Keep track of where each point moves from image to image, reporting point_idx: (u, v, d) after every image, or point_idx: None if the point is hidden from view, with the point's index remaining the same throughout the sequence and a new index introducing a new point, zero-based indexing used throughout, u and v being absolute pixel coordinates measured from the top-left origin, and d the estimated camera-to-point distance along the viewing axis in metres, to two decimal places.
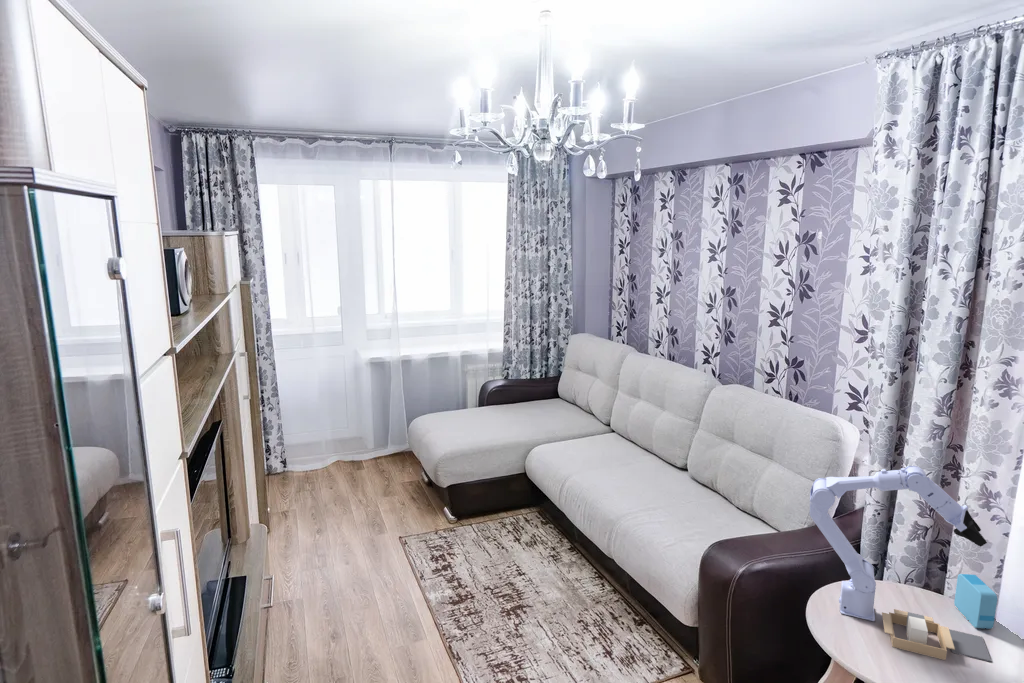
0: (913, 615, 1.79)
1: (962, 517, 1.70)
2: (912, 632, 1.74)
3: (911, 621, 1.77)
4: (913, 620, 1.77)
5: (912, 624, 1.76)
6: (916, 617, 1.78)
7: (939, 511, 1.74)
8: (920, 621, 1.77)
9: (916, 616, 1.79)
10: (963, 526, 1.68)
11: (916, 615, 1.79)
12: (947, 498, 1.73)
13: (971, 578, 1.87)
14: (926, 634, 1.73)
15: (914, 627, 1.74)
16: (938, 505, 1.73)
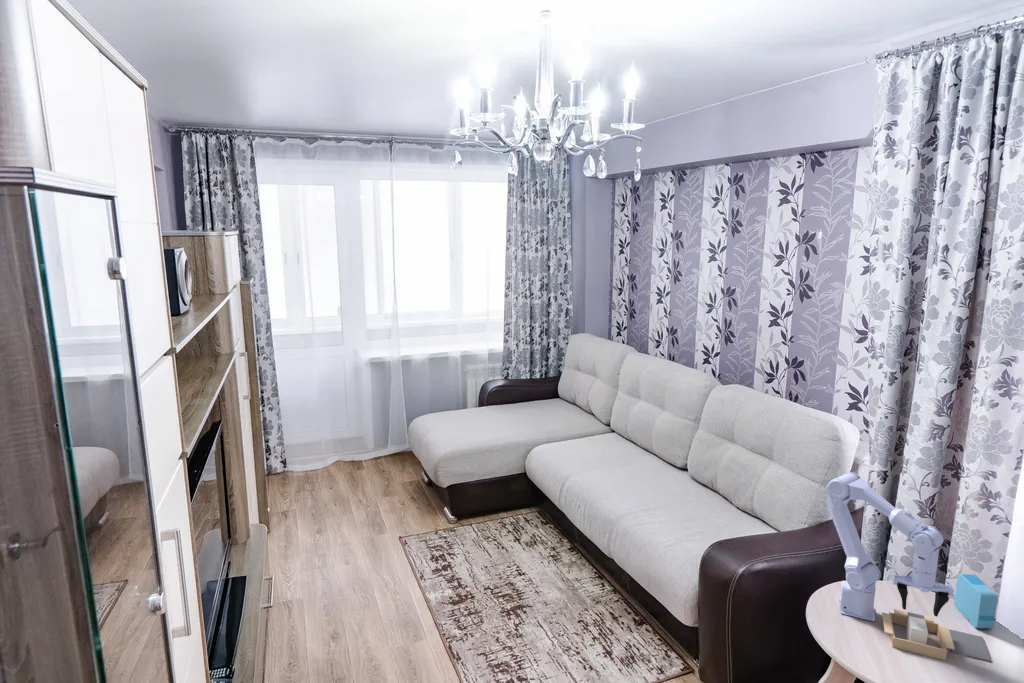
0: (913, 615, 1.79)
1: (906, 582, 1.75)
2: (912, 632, 1.74)
3: (911, 621, 1.77)
4: (913, 620, 1.77)
5: (912, 624, 1.76)
6: (916, 617, 1.78)
7: None
8: (920, 621, 1.77)
9: (916, 616, 1.79)
10: (893, 581, 1.77)
11: (916, 615, 1.79)
12: (930, 572, 1.71)
13: (971, 578, 1.87)
14: (926, 634, 1.73)
15: (914, 627, 1.74)
16: (917, 568, 1.72)
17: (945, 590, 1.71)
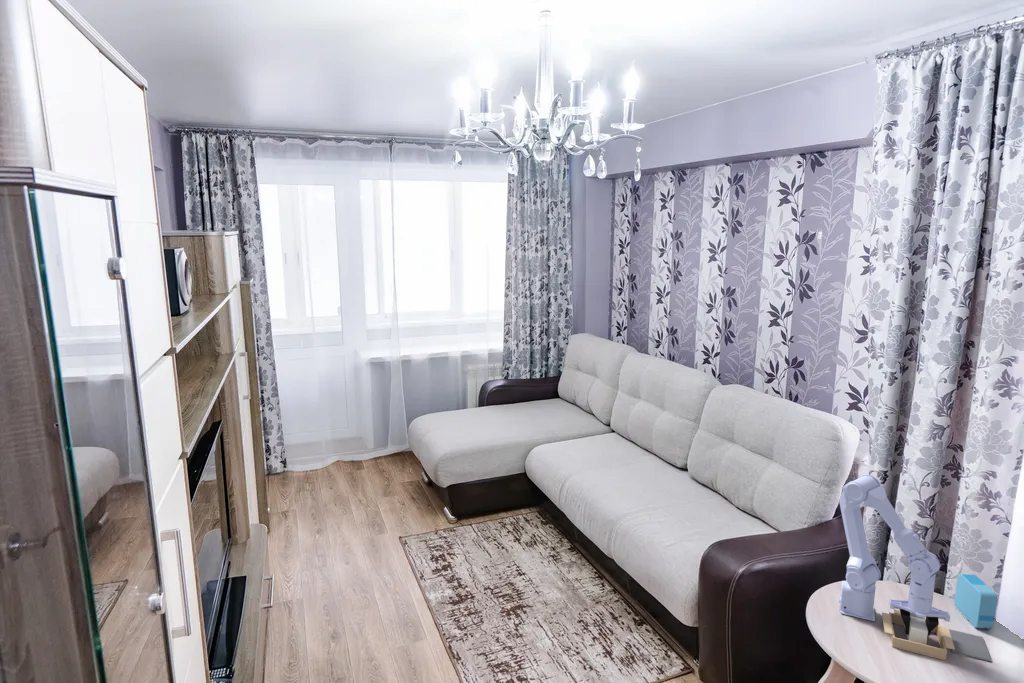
0: (913, 615, 1.79)
1: (902, 607, 1.76)
2: (912, 632, 1.74)
3: (911, 621, 1.77)
4: (913, 620, 1.77)
5: (912, 624, 1.76)
6: (916, 617, 1.78)
7: None
8: (920, 621, 1.77)
9: (916, 616, 1.79)
10: (890, 605, 1.79)
11: (916, 615, 1.79)
12: (927, 598, 1.72)
13: (971, 578, 1.87)
14: (926, 634, 1.73)
15: (914, 627, 1.74)
16: (914, 593, 1.74)
17: (941, 616, 1.72)
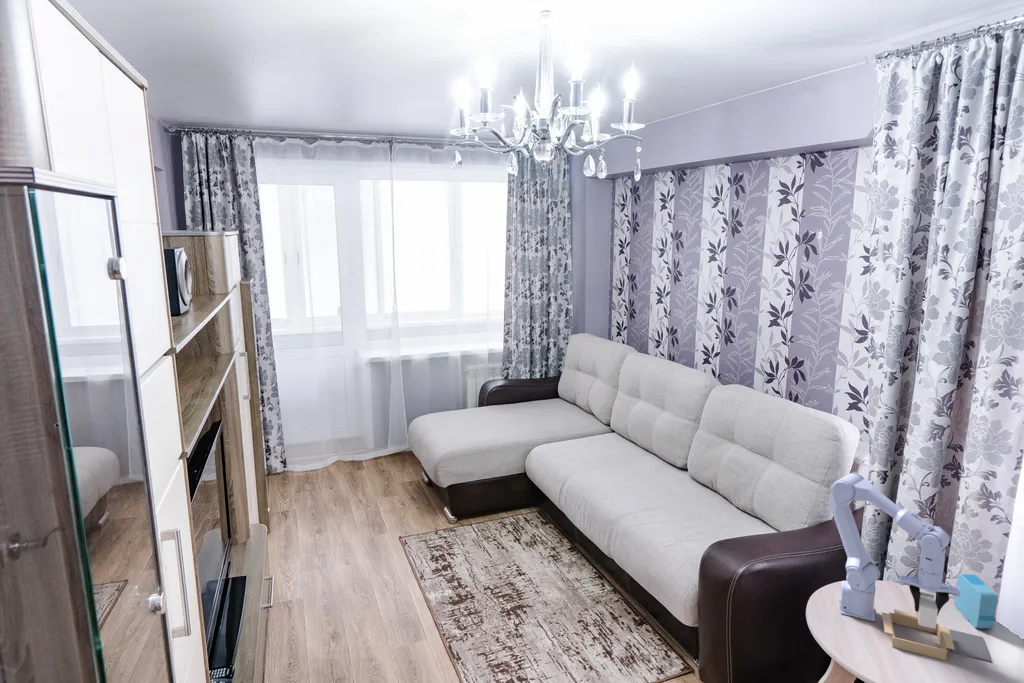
0: (923, 594, 1.78)
1: (912, 583, 1.74)
2: (922, 611, 1.72)
3: (921, 600, 1.75)
4: (922, 599, 1.76)
5: (922, 603, 1.74)
6: (925, 596, 1.77)
7: None
8: (930, 600, 1.75)
9: (926, 595, 1.77)
10: (899, 581, 1.77)
11: (926, 594, 1.78)
12: (938, 573, 1.70)
13: (971, 578, 1.87)
14: (936, 612, 1.71)
15: (924, 606, 1.72)
16: (924, 569, 1.72)
17: (952, 591, 1.70)
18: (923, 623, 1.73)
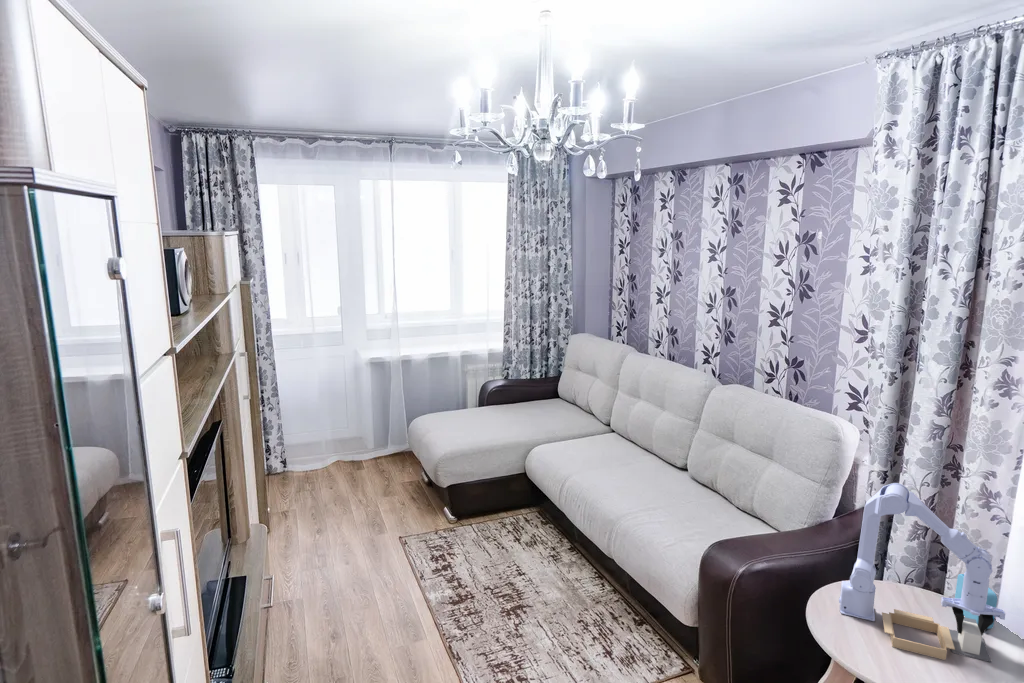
0: (965, 619, 1.76)
1: (955, 605, 1.73)
2: (965, 637, 1.71)
3: (963, 625, 1.74)
4: (965, 624, 1.74)
5: (965, 628, 1.73)
6: (968, 622, 1.75)
7: None
8: (972, 625, 1.74)
9: (968, 620, 1.76)
10: (942, 603, 1.75)
11: (968, 619, 1.76)
12: (985, 595, 1.69)
13: None
14: (980, 639, 1.70)
15: (967, 631, 1.71)
16: (971, 593, 1.70)
17: (996, 613, 1.69)
18: (966, 649, 1.72)
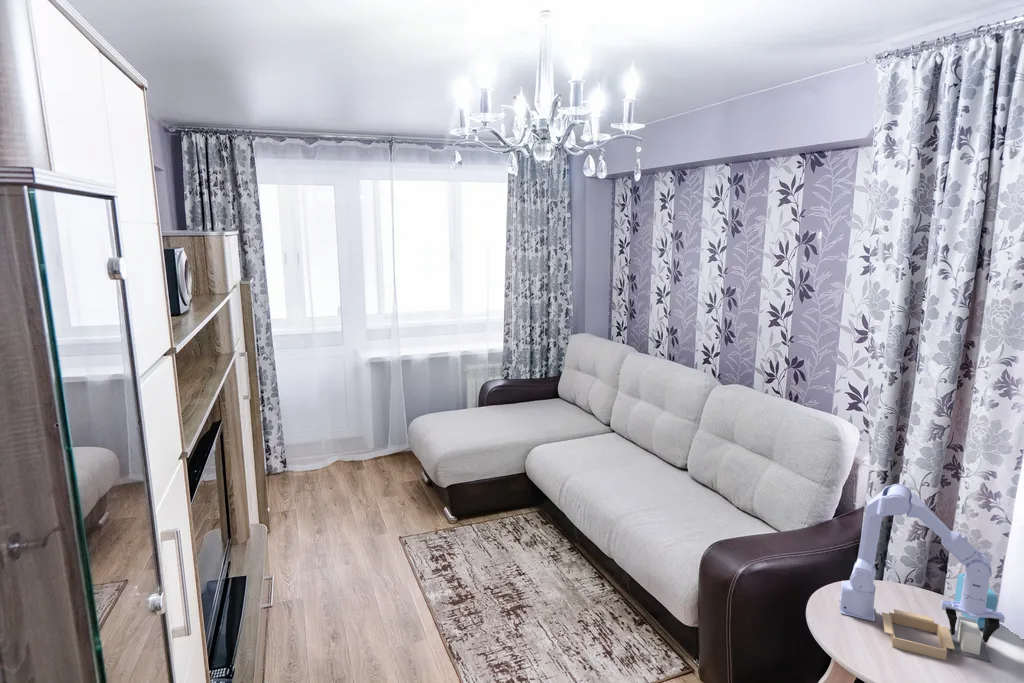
0: (965, 619, 1.76)
1: (955, 608, 1.73)
2: (965, 637, 1.71)
3: (963, 625, 1.74)
4: (965, 624, 1.74)
5: (965, 628, 1.73)
6: (968, 622, 1.75)
7: None
8: (972, 625, 1.74)
9: (968, 620, 1.76)
10: (941, 606, 1.76)
11: (968, 619, 1.76)
12: (984, 598, 1.69)
13: None
14: (980, 639, 1.70)
15: (967, 631, 1.71)
16: (971, 596, 1.70)
17: (996, 616, 1.69)
18: (966, 649, 1.72)
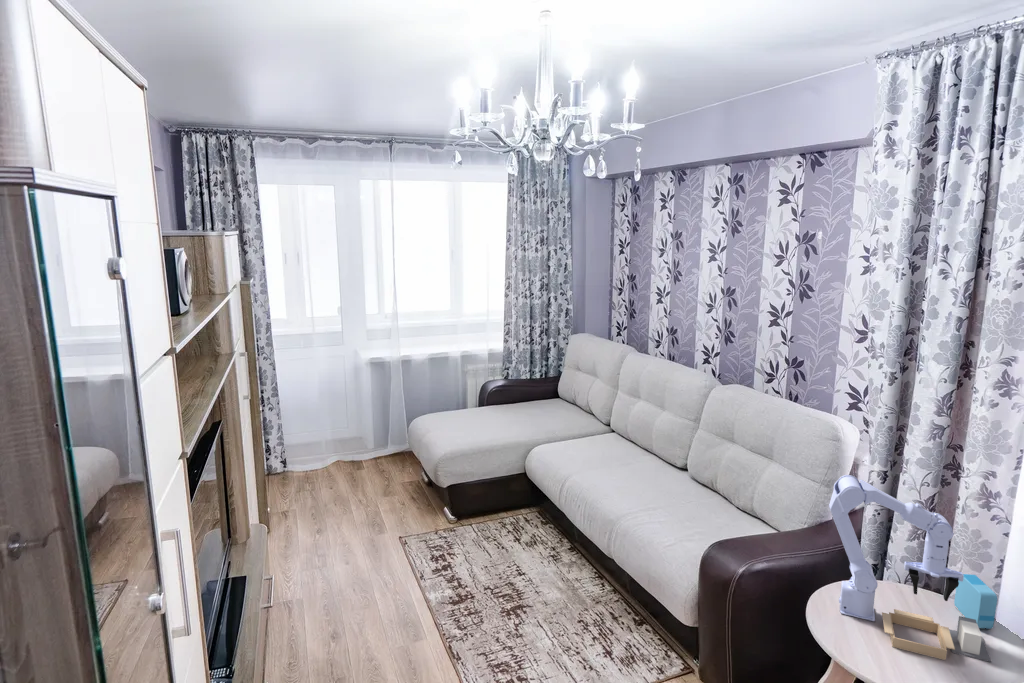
0: (965, 619, 1.76)
1: (917, 568, 1.82)
2: (965, 637, 1.71)
3: (963, 625, 1.74)
4: (965, 624, 1.74)
5: (965, 628, 1.73)
6: (968, 622, 1.75)
7: None
8: (972, 625, 1.74)
9: (968, 620, 1.76)
10: (905, 567, 1.84)
11: (968, 619, 1.76)
12: (946, 557, 1.78)
13: (971, 578, 1.87)
14: (980, 639, 1.70)
15: (967, 631, 1.71)
16: (935, 557, 1.78)
17: (955, 575, 1.78)
18: (966, 649, 1.72)
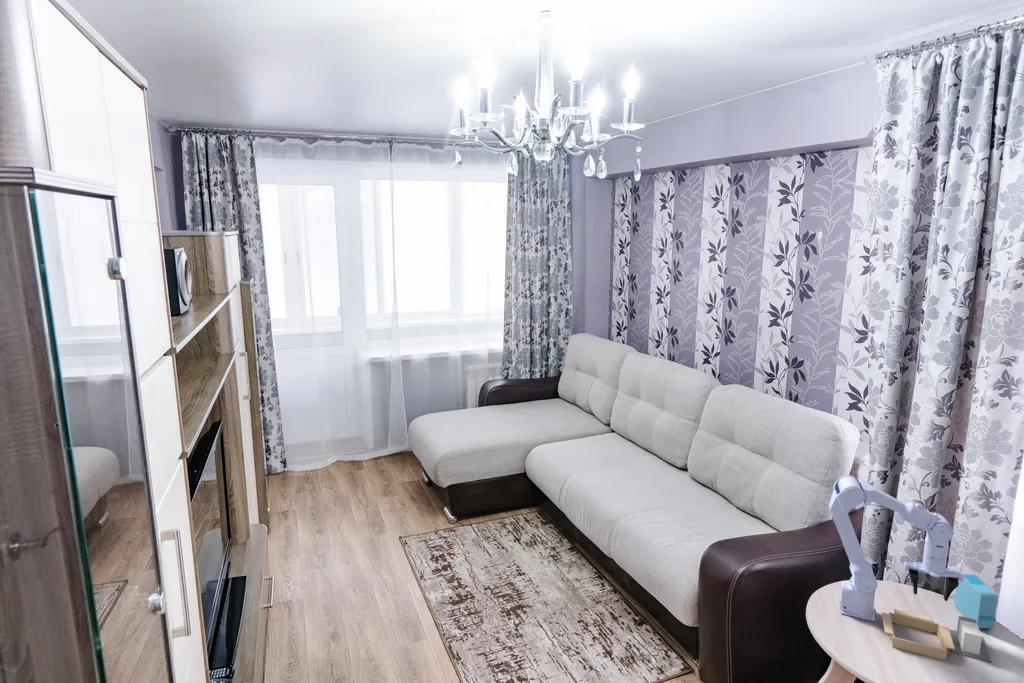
0: (965, 619, 1.76)
1: (917, 568, 1.82)
2: (965, 637, 1.71)
3: (963, 625, 1.74)
4: (965, 624, 1.74)
5: (965, 628, 1.73)
6: (968, 622, 1.75)
7: None
8: (972, 625, 1.74)
9: (968, 620, 1.76)
10: (905, 567, 1.84)
11: (968, 619, 1.76)
12: (946, 557, 1.78)
13: (971, 578, 1.87)
14: (980, 639, 1.70)
15: (967, 631, 1.71)
16: (935, 557, 1.78)
17: (955, 575, 1.78)
18: (966, 649, 1.72)
